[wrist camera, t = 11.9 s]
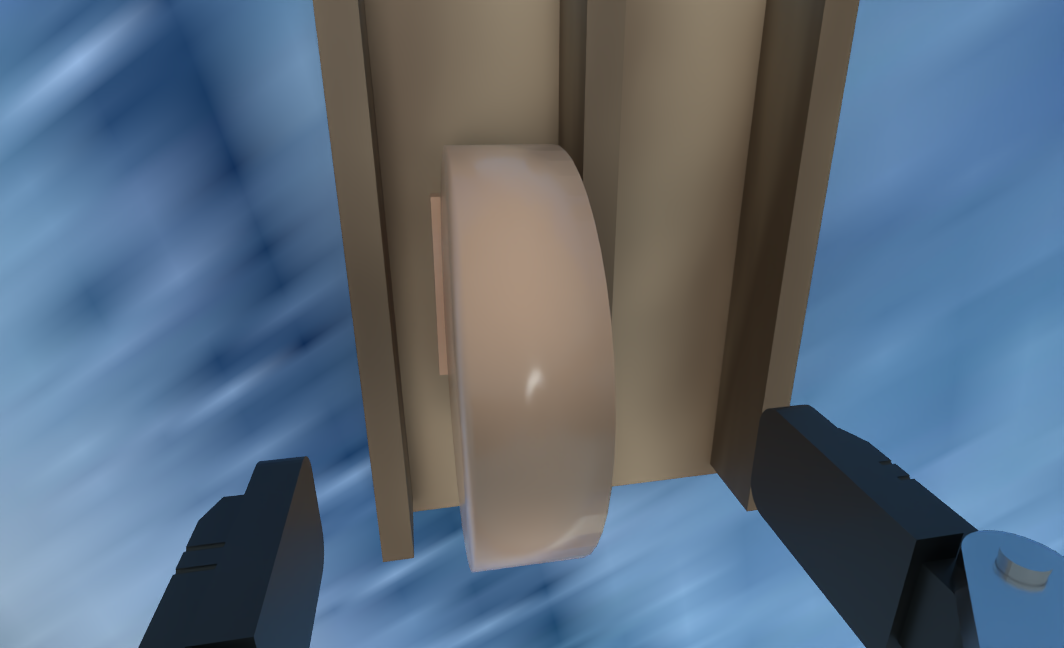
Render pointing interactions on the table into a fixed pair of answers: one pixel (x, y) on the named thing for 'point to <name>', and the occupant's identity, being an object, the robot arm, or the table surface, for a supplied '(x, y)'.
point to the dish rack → (592, 205)
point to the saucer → (524, 352)
